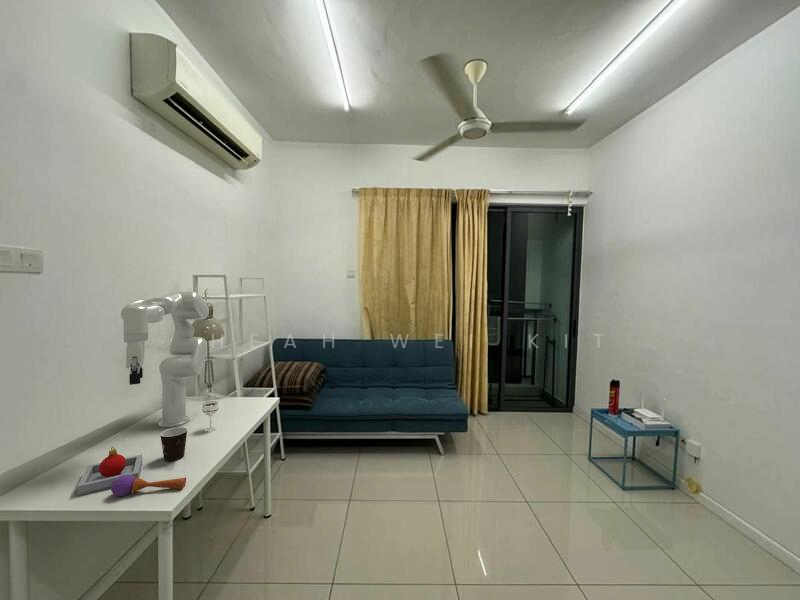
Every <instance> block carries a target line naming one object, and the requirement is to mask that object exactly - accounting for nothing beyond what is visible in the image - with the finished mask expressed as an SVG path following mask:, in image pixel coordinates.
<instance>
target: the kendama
mask: <svg viewBox="0 0 800 600" xmlns="http://www.w3.org/2000/svg"><path fill="white" fill-rule="evenodd" d="M186 483H187V477H182V478H181V477H180V478H172V479H166V480H165V479H163V480H159V481H158V480H157V481H150V482H148V481H146V480H144V479H142V478H141V477H140V476H139V477H137V478H136V479H135V478H134V476H132V475H122V476H120V477H118V478H117V479H116V480H115V481H114V482H113V484H112V487H111V488H110V490H111V493H112V494H113V495H114V496H116V497H123V496H126V495H129V494H130V493H131V492H132V493H135V492H138V491H141V490H142V489H145V488H147V487H148V488H149V487H151V488H152V487H153V488H163V489H174V490H183V489H184V488H185V487H186Z"/></svg>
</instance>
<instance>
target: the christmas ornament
mask: <svg viewBox="0 0 800 600" xmlns="http://www.w3.org/2000/svg"><path fill="white" fill-rule="evenodd" d="M125 458H126V457H125V456H124V455H122V454H120V453H119V454H118V451H117V449H116V448H115V446H112V447H111V448H110V450H109V451H108V456H107V457H105V458H104V459H102V461H101V462H99V463H100V466H99V472H100V474H101V475H102V476H104V477H113V476H116V475H118V474H120V473H121V472H122V471H123V470H124V468H125V466H126V459H125Z"/></svg>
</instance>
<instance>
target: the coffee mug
mask: <svg viewBox="0 0 800 600" xmlns="http://www.w3.org/2000/svg"><path fill="white" fill-rule="evenodd" d="M159 435H160V442H161V449H162V455H163V461H164V462H168V463H169V462H170V463H171V462H176V461H178V460H181V459H183V458H184V457H185V451H186V442H187V436H188V427H185V426H180V427H179V426H175V427H170V428H168V429H165V430H163V431H161V432H160V434H159Z"/></svg>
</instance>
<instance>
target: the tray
mask: <svg viewBox="0 0 800 600" xmlns="http://www.w3.org/2000/svg"><path fill="white" fill-rule="evenodd" d="M125 459H126V466H125V468H124V470H123V471H122V472H121V473H120V474H118V475H116V476H113V477H104V476H102V475H101V474H100V472H99V466H100V463H101V462H99V463H94V464H93V463H92V464H89V465H87V466H86V469H85V471H84V472H83V475H82V476H81V478H80V480H79V482H78V483H77V486H76V496H77V497H79V496H84V495H88V494H92V493H97V492H100V491H104V490H111V487H112V484H113V482H114V481H115V480H116V479H117V478H118V477H120V476H122V475H132V476H134V478H135V479H136V478H137V477H139V478H140V476H141V471H142V466H143V454H137V455H132V456H127V457H125Z"/></svg>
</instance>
